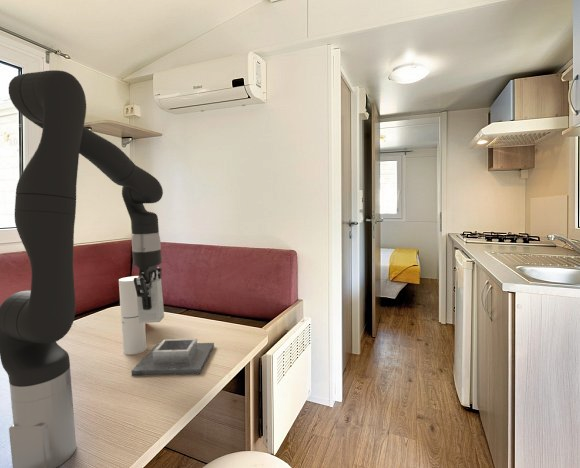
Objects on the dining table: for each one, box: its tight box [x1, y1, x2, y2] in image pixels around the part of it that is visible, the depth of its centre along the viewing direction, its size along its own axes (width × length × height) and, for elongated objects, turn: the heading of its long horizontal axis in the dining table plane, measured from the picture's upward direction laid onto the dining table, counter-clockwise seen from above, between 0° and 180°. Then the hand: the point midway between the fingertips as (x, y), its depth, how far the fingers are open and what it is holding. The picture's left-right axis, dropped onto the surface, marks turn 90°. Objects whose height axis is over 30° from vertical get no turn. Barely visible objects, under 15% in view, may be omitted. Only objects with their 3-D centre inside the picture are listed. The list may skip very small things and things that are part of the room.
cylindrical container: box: [118, 275, 147, 356], centre depth 108 cm, size 7×7×25 cm
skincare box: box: [136, 278, 165, 324], centre depth 93 cm, size 6×4×12 cm
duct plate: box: [131, 338, 215, 377], centre depth 102 cm, size 18×20×5 cm
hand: (150, 306), depth 93 cm, fingers closed on skincare box, 4 cm apart
